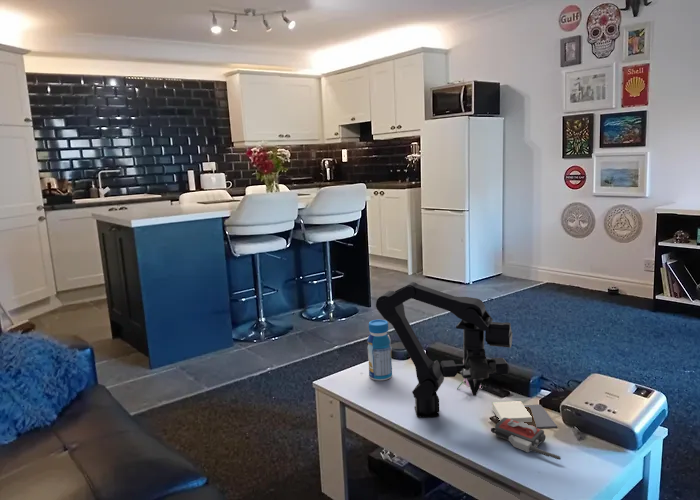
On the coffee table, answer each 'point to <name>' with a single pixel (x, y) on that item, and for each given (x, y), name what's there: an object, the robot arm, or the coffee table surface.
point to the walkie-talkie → (521, 435)
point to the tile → (511, 411)
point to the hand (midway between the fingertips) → (474, 395)
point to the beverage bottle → (379, 351)
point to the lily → (467, 382)
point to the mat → (541, 417)
